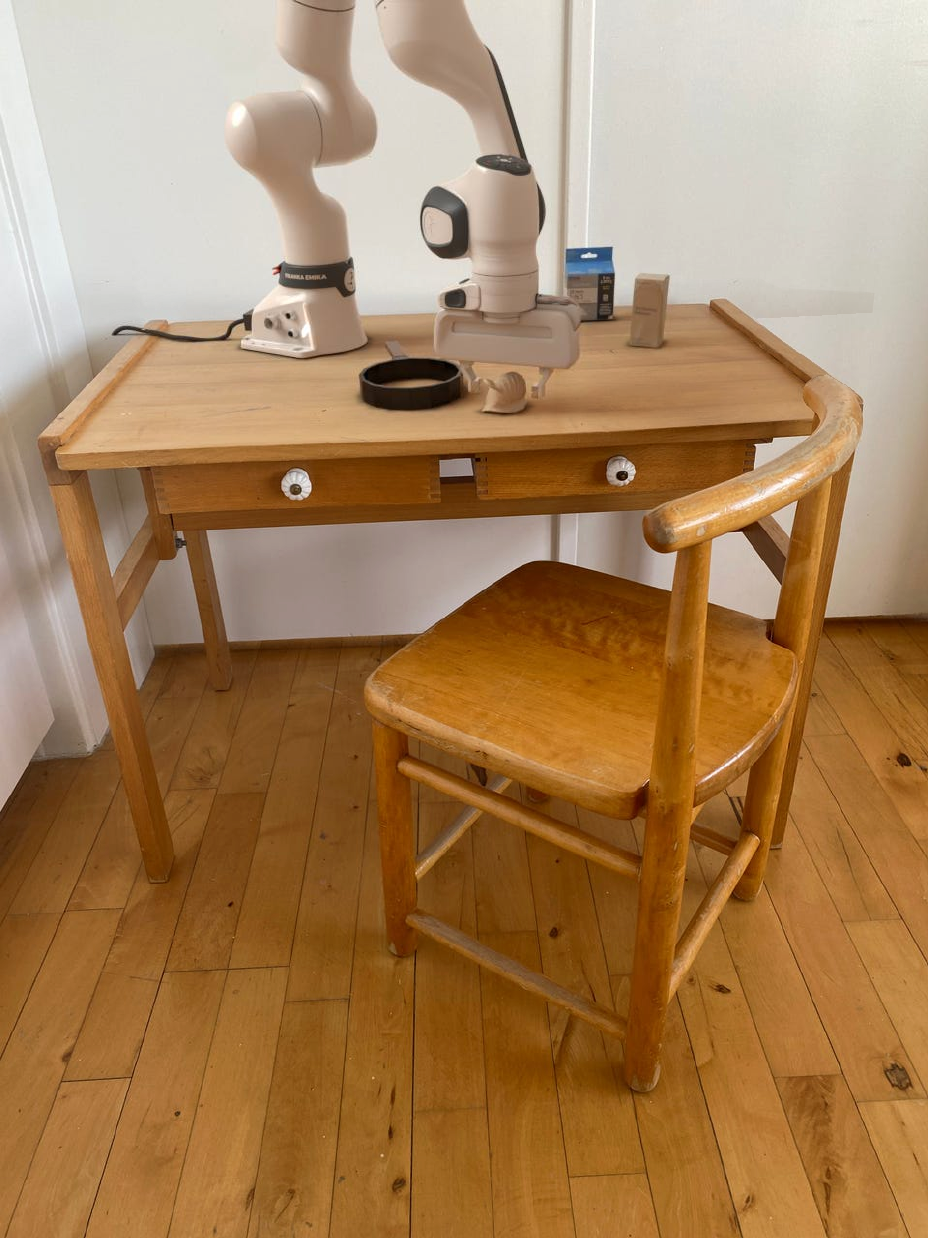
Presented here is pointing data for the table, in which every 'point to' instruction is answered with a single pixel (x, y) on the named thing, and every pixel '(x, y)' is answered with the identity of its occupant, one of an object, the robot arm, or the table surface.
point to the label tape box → (591, 281)
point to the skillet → (410, 369)
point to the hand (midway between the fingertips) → (506, 394)
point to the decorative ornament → (506, 393)
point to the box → (649, 310)
